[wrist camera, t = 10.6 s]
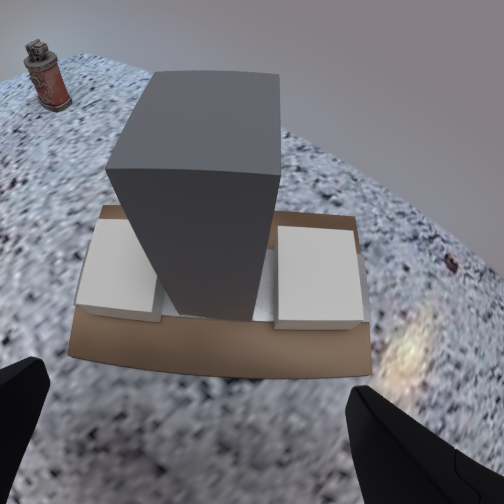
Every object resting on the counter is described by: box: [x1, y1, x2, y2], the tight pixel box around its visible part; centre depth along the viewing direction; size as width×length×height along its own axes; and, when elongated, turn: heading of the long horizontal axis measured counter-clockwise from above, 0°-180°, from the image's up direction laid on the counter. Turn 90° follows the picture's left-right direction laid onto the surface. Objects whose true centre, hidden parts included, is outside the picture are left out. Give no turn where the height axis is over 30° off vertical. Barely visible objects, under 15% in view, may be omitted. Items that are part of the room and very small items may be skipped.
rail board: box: [68, 205, 372, 379], centre depth 21 cm, size 12×20×1 cm, turn 88°
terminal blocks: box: [76, 219, 364, 330], centre depth 19 cm, size 6×17×2 cm, turn 88°
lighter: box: [24, 39, 72, 112], centre depth 27 cm, size 8×3×10 cm, turn 54°
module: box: [105, 71, 281, 321], centre depth 14 cm, size 5×4×13 cm
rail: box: [73, 241, 371, 323], centre depth 20 cm, size 5×20×1 cm, turn 88°
